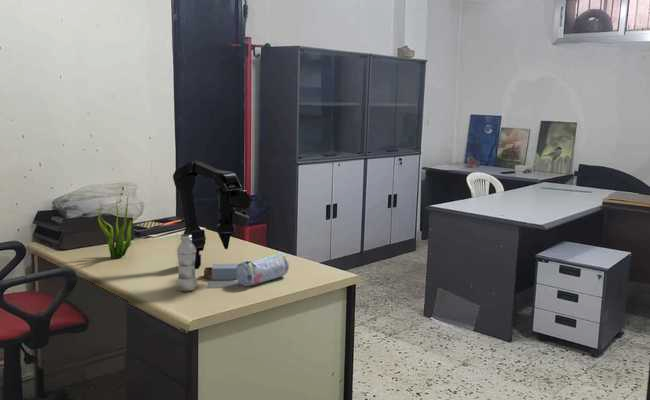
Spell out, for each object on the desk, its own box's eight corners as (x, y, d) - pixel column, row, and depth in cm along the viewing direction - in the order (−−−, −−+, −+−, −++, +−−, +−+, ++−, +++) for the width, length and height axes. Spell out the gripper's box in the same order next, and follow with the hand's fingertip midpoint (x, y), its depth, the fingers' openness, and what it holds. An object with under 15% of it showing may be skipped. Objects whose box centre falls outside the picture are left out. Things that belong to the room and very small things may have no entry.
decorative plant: (84, 203, 240) (89, 187, 253) (110, 263, 255) (114, 244, 268) (129, 192, 242) (131, 176, 254) (153, 252, 257) (154, 233, 269)
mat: (206, 288, 216) (206, 287, 216) (208, 282, 224) (208, 281, 224) (240, 288, 218) (240, 287, 218) (241, 281, 225) (241, 281, 225)
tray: (204, 279, 228) (203, 270, 227) (205, 275, 233) (205, 267, 232) (246, 278, 230) (246, 270, 229) (247, 275, 234) (247, 267, 234)
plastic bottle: (178, 287, 216) (177, 233, 213) (197, 287, 217) (197, 233, 214) (175, 293, 210) (174, 237, 207) (195, 293, 211) (194, 237, 207)
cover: (211, 280, 227) (211, 268, 226) (213, 274, 234) (213, 263, 233) (238, 279, 228) (238, 268, 228) (239, 274, 235) (239, 263, 234)
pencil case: (249, 289, 216) (249, 263, 214) (233, 284, 221) (233, 258, 220) (290, 278, 231) (291, 254, 230) (274, 273, 237) (275, 250, 236)
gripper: (248, 210, 219) (248, 252, 221) (248, 201, 237) (248, 240, 240) (217, 209, 218) (217, 252, 220) (219, 201, 236) (219, 240, 238)
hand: (226, 246), depth 230 cm, fingers open, 9 cm apart
